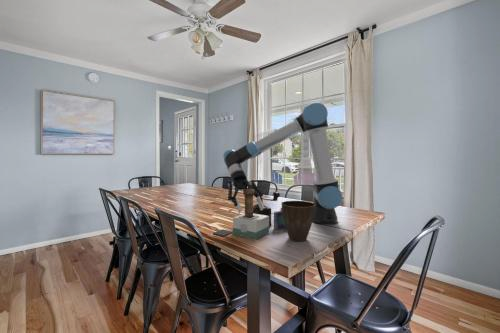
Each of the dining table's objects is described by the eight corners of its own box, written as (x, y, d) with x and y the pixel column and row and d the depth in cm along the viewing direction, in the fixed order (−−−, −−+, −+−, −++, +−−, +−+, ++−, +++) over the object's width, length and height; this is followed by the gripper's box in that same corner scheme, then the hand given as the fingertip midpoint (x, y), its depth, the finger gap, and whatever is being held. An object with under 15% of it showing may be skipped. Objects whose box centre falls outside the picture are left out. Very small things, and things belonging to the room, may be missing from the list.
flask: (274, 230, 123) (274, 209, 122) (272, 228, 126) (272, 207, 125) (291, 228, 126) (291, 207, 125) (288, 226, 129) (288, 206, 128)
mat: (233, 232, 119) (233, 231, 119) (223, 236, 113) (223, 235, 113) (222, 230, 123) (222, 229, 123) (212, 234, 117) (212, 232, 117)
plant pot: (291, 231, 121) (291, 199, 120) (320, 237, 111) (320, 203, 110) (274, 239, 109) (275, 204, 108) (305, 247, 100) (305, 208, 99)
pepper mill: (253, 228, 126) (253, 193, 126) (247, 222, 137) (247, 190, 136) (281, 225, 131) (281, 192, 130) (273, 220, 142) (273, 189, 141)
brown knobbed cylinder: (256, 227, 117) (256, 189, 116) (250, 230, 113) (250, 190, 112) (247, 225, 120) (247, 188, 119) (241, 228, 116) (241, 189, 115)
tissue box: (269, 232, 120) (269, 214, 119) (255, 239, 109) (255, 220, 109) (247, 227, 127) (247, 211, 126) (232, 234, 116) (232, 216, 116)
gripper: (254, 178, 135) (269, 211, 122) (214, 180, 124) (226, 217, 111) (259, 169, 130) (275, 202, 117) (217, 170, 119) (230, 208, 106)
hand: (251, 210), depth 114 cm, fingers open, 11 cm apart
